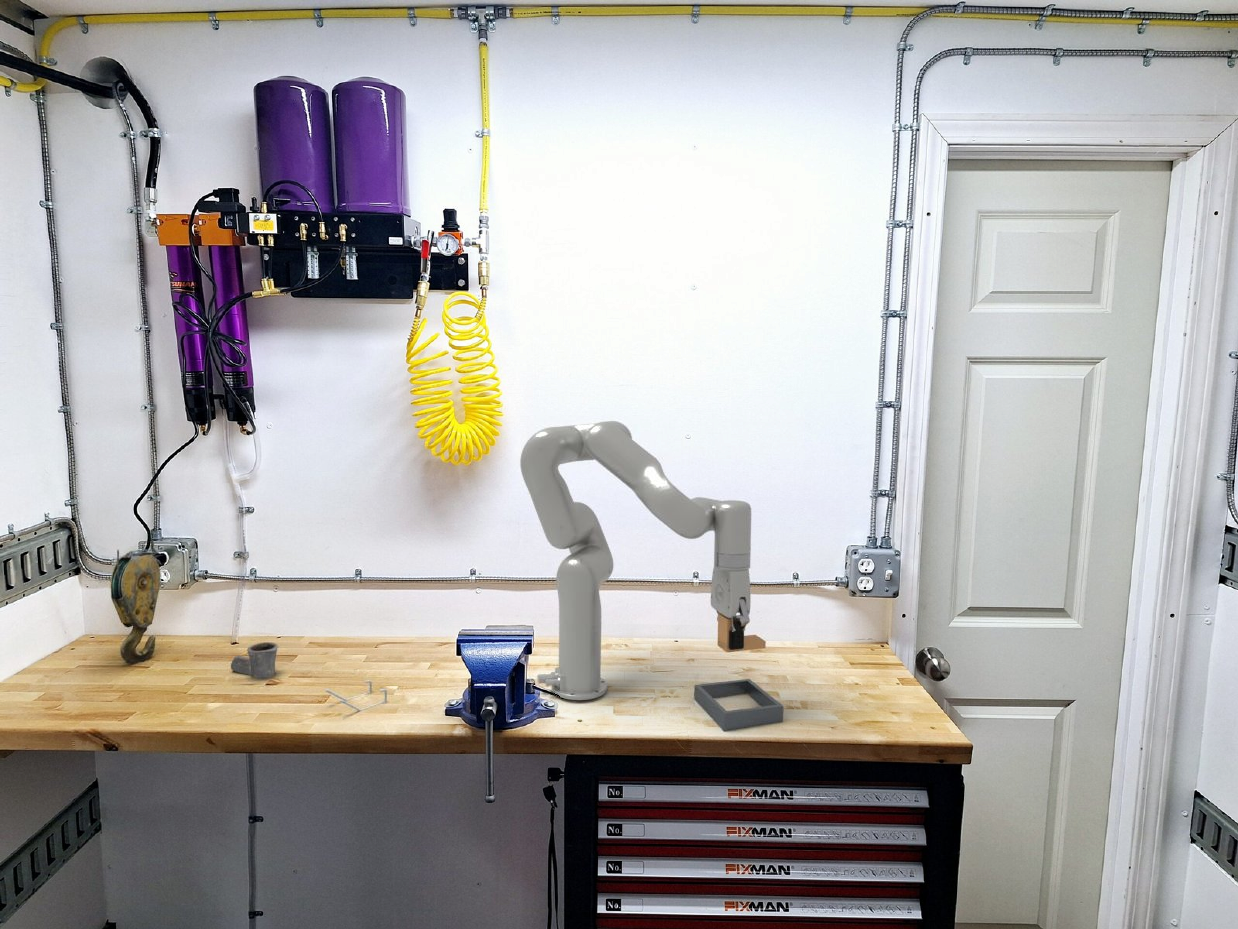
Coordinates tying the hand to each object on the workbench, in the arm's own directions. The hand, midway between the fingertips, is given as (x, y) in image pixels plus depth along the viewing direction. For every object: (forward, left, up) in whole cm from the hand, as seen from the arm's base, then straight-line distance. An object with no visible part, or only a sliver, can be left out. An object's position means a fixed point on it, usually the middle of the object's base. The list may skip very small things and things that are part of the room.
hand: (730, 644), depth 153 cm
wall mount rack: (-76, +27, -17) cm, 82 cm away
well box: (+2, 0, -17) cm, 17 cm away
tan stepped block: (+3, 0, -1) cm, 3 cm away
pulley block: (-128, +67, -17) cm, 145 cm away
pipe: (-99, +50, -17) cm, 113 cm away
